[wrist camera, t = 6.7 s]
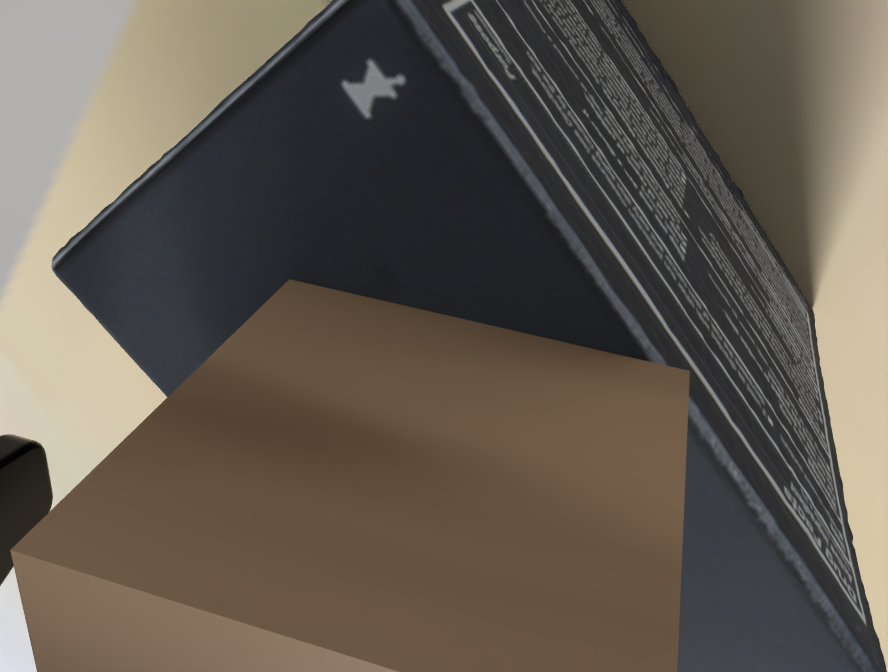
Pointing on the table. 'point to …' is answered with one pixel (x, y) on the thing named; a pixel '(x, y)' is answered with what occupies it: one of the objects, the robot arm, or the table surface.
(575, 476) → the walnut cube
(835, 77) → the table surface
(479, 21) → the small box
